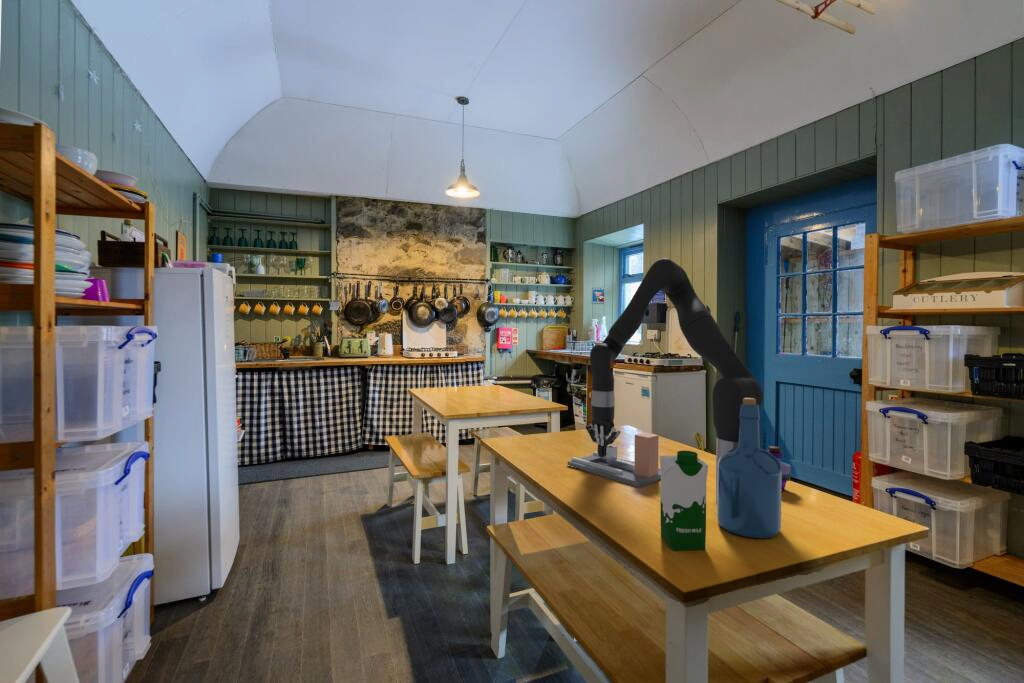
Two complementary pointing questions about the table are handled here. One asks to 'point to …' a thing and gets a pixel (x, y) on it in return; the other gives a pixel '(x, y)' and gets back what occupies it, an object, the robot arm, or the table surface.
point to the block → (646, 454)
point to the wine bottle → (749, 482)
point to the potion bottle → (784, 467)
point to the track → (612, 470)
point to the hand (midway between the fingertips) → (602, 456)
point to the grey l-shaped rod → (612, 459)
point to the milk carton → (683, 501)
